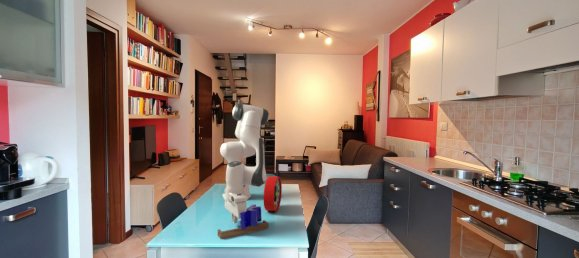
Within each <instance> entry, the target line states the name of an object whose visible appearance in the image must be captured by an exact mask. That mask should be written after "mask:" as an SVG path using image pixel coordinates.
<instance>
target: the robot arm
mask: <svg viewBox="0 0 579 258" xmlns="http://www.w3.org/2000/svg"><path fill="white" fill-rule="evenodd" d="M231 112H232V118H233V119H234V120H235V121H237V123H236V127H235V131H234V135H235V137H236V138H237V139H238V141H226V142H224V143H222V144H221V145H220V148H219V152H220V155H221V156H222V158H223V159H225V160H226V161H227V165H226V170H225V182H226V185H225V188H224V189H223V190H224V191H223V193H222V197H223V199H224V209H226V210H227V211H228V212H230V216H231V222H232V223H233V224H236V223H238V220H239V219H240V220H241V215H240V213H241V212H246V209H247V208H248V207H247V206H248V205H247V201H248V200H249V199H250V198H251V197H252V195H251V194H250V186H251V187H252V186H253V187H261V186H262V185H265V182H266V180H267V171H266V149H265V142H264V139H263V138H261V134H260V133H261V126H265V125H267V123H268V121H269V119H270V112H269V111H268V109H265V108H262V107H259V106H256V105H250V104H244V103H240V102H239V103H236V104H235V105H234V107H233V108H232V111H231ZM252 156H256V158H255V163H256V165H255V166H247V165H246V164H244V163H243V162H241V161H240V159H241V158H249V157H252Z"/></svg>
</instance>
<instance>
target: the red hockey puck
mask: <svg viewBox="0 0 579 258" xmlns="http://www.w3.org/2000/svg"><path fill="white" fill-rule="evenodd" d="M282 186H283V185H282V179H281V177H280V176H272V175H271V176H270V175H269V176H267V177H266V181H265V183H264V187H263V197H262V198H263V200H262V201H263V208H264V210H265V211H267V212H268V211H269V212H278V211H279V209H280V206H281V202H282V193H283V192H282V191H283V189H282V188H283V187H282Z"/></svg>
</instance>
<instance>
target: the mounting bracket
mask: <svg viewBox="0 0 579 258" xmlns="http://www.w3.org/2000/svg"><path fill="white" fill-rule="evenodd" d="M240 215H241V218H240V228H241V229H245V228H246V227H247V226H257V224H258V223H262V222H263V219H262V206H257V205H256V204H251V205H249V206H248V207H246V212H241V213H240Z"/></svg>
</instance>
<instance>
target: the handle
mask: <svg viewBox="0 0 579 258" xmlns="http://www.w3.org/2000/svg"><path fill="white" fill-rule="evenodd" d="M268 229H269V222H268V221H266V220H263V219H262V222H259V223H257V226H247V227H246V228H245V229H241V227H237V228H232V229H227V230H221V229H220V228H219V229H217V237H218V238H219V239H220V240H222V239H227V238H231V237H236V236H241V235H246V234H250V233H255V232H258V231H263V230H268Z"/></svg>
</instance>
